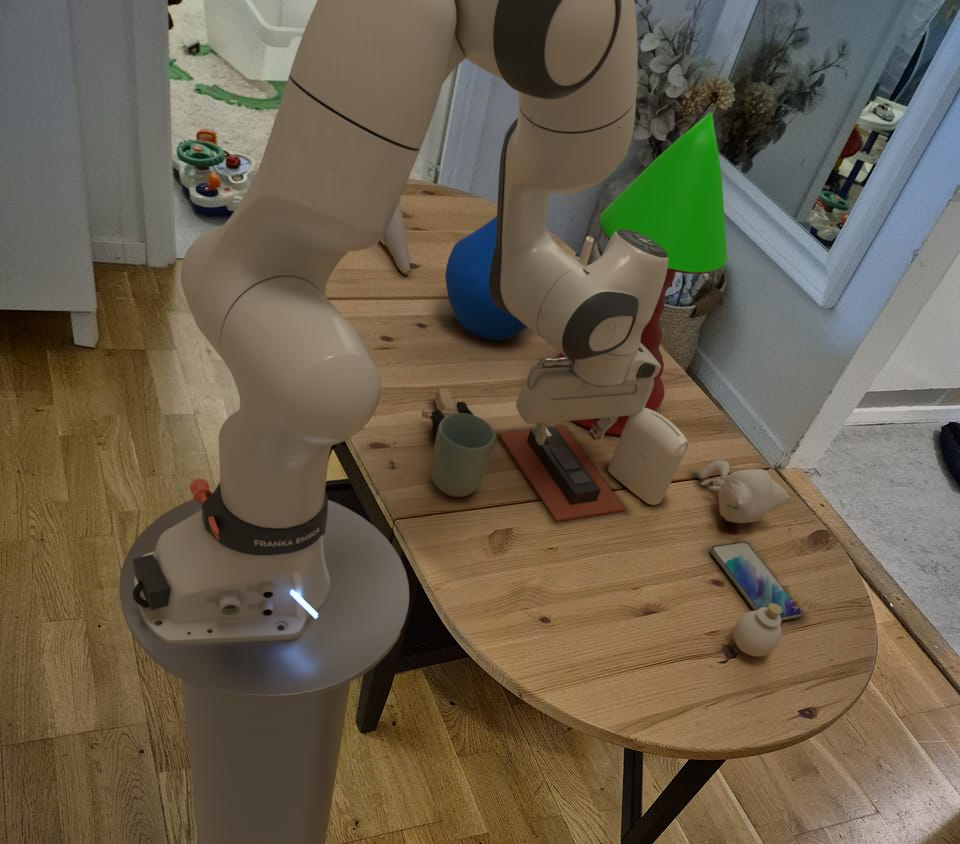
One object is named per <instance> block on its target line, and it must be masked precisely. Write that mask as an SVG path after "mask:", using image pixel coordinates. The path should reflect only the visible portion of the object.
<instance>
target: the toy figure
mask: <svg viewBox="0 0 960 844" xmlns="http://www.w3.org/2000/svg"><path fill="white" fill-rule="evenodd" d="M433 401H434V403H435V405H436V409H433V411H432V412H430V410H424V409H421V417H422V418H423V419H430V420H431V422H432V424H431V425H432V427H431V428H432V430H431V432H432V433H433V434H434V438H436V435H437V431H438V427H439V424H440V422H441V421H442V420H443V419H444V418H445V417H447V416H449V415H452V414H456V413H467V414H472V415H474V413H473V412H472V411H471V410H470V408H469V407H468V405H467V403H466V401H465V400H463V401H457V402H456V404H454V401H453V397H452V393H451V390H450V389H449V388H444V387H438V388H437V390H436V393H435V398H434V400H433Z"/></svg>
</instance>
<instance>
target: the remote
mask: <svg viewBox="0 0 960 844" xmlns="http://www.w3.org/2000/svg"><path fill="white" fill-rule="evenodd" d="M556 427H557V426H553V427H546V428H547V429H548V431H549V433H551V435H552V437H551V440H550V443H549V444H546V445H539V444H538V443H537V441H536V439H535V437H536V434H537V431H538V429H537V428H532V429H529V430H530V432H529V436H528V439H527V442H528V443H529V445H530V446H531V448H532V449H533V451H534V452H535V453H536V455H537V456H538V458H539V459H540V461H541V462H542V464H543V465H544V467H545V468H546V469H547V471H548V472H549V474H550V475H551V477H552V478H553V480H554V481H555V482H556V484H557V485H558V487H559V488H560V490H561V491H562V493H563V494H564V496H565V497H566V498H567V500H568V501H569V503H570V504H571V505H573V504H579V503H586V502H593V501H597V499H598V496H599V494H600V491H601V489H600V488H599V486H598V485H597V484H596V482H595V481H594V479H593V478H592V477H591V475H590V474H589V473H588V471H587V470H586V468H585V467H584V466H583V464H582V463H581V462H580V460H579V459H578V457H577V456H576V455H575V453H574V452H573V451H572V449H571V448H570V446H569V445H568V444H567V442H566V441H565V440H564V438H563V437H562V435H561V434H560V433H559V431H558V430H557V429H556Z"/></svg>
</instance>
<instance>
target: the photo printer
mask: <svg viewBox="0 0 960 844" xmlns="http://www.w3.org/2000/svg"><path fill="white" fill-rule="evenodd" d="M688 448H689V441H688V440H687V438H686V436H685V435H684V433H682V431H681V430H680V429H679V428H678V427H677V426H676V424H674V423H673V422H672V421H671V420H669V418H667V417H666V416H664V415H663V414H661V413H659V412H658V411H657V412H655V411H653V410H651V409H648V408H644V409H643V410H642V411H640V412H639V413H638V414H636V415H631V416H629V418H628V420H627V422H626V424H625V427H624V429H623V432H622V434H621V435H620V436H619V440H618V441H617V444H616V447H615V449H614V452H613V454H612V457H611V459H610V462H609V464H608V468H607V472H608V473H609V474H610V475H611V476H612V477H614V478H615V479H616V480H617V481H618V482H619V483H621V484H622V485H623V486H624V487H625V488H626V489H628V490H629V491H630V492H632V493H633V494H634V495H635V496H636V497H638V498H639V499H640V500H642V501H643V502H644V503H646V504H648V505H650V506H656V505H659V504H661V503H662V501H663V499H664V498H665V495H666V494H667V492H668V490H669V488H670V486H671V483H672V481H673V479H674V477H675V475H676V473H677V471H678V469H679V467H680V465H681V463H682V461H683V459H684V456H685V455H686V452H687V450H688Z"/></svg>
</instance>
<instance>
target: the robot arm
mask: <svg viewBox="0 0 960 844" xmlns="http://www.w3.org/2000/svg"><path fill="white" fill-rule="evenodd" d="M635 3H636V2H635V0H316V2H315V5H314V6H313V10H312V11H311V13H310V16H309V18H308V21H307V23H306V25H305V28H304V31H303V33H302V36H301V39H300V41H299V44H298V46H297V49H296V53H295V56H294V58H293V61H292V65H291V68H290V70H289V75H288V77H287V81H286V84H285V87H284V90H283V92H282V95H281V99H280V102H279V106H278V108H277V112H276V115H275V118H274V121H273V124H272V127H271V131H270V133H269V137H268V140H267V143H266V145H265V149H264V152H263V155H262V158H261V161H260V164H259V166H258V168H257V171H256V173H255V175H254V177H253V180H252V182H251V184H250V186H249V188H248V189H247V191H246V193H245V194H244V196H243V198H242V199H241V201H240V203H239V204H238V206H237V207H236V208H235V210H234V211H233V213H232V214H231V215H230V216H229V217H228V219H227V221H225V223H224V224H222V225H219V226H216V227H212V228H210V229H208V230H206V231H204V232H203V233H202V234H201V235H199V236H198V237H197V238H196V239H195V240H194V241H193V242H192V243H191V245H190V246H189V248H188V249H187V251H186V252H185V254H184V256H183V259H182V262H181V266H180V283H181V289H182V292H183V294H184V297H185V300H186V303H187V305H188V308H189V311H190V313H191V315H192V317H193V320H194V323H195V324H196V327H197V328H198V329H199V331H200V332H201V333H202V334H203V336H204V337H205V339H206V340H207V341H208V342H209V344H210V345H211V347H213V349H214V350H215V352H216V353H217V354H218V355H219V357H220V358H221V359H222V361H223V362H224V364H225V365H226V368H227V369H228V370H229V372H230V374H231V376H232V378H233V380H234V383H235V385H236V389H237V392H238V395H239V409H238V410H236V411H234V412H233V413H232V414H231V415H229V416H228V417H227V418H226V419H225V420H224V422H223V423H222V425H221V427H220V430H219V432H218V456H219V457H218V459H219V482H218V484H217V486H216V488H215V490H214V491H211V489H210V484H209V482H208V481H207V480H206V479H205V478H196V479H194V480H192V482H190V484H189V485H190V486H189V489H190V492H191V493H192V498H193V499H194V500H195V501H196V502H198V503H202V510H200V511H198V512H197V513H195V514H193V515H192V516H190V517H188V518H187V519H185V520H183V521H182V522H180V523H178V524H176V525H175V526H173V527H171V528H169V529H167V530H166V531H164V532H163V533H162V535H161V536H160V538H159V539H158V542H157V545H156V548H155V551H154V552H150V553H147V554H145V555H143V556H142V557H139V558H135V559H133V565H134V571H135V576H134V590H133V598H134V600H135V601H136V602H137V605H138V608H139V611H140V614H141V617H142V619H143V621H144V623H145V624H146V626H147V628H148V629H149V630H150V632H151V633H152V634H153V635H154V636H155V637H156V638H157V639H159V640H160V641H161V642H163V643H164V644H167V645H191V644H212V643H232V642H253V641H274V640H292V639H296V638H298V637H299V636H300V635H301V634H302V632H303V630H304V628H305V625H306V622H307V620H308V619H309V618H310V617H311V616H313V617H314V618H317V617H318V613H317V612H316V611H318V610H319V609H320V608H321V606H322V605H323V604H324V602H325V601H326V599H327V597H328V595H329V591H330V576H329V573H328V570H327V567H326V563H325V558H324V550H323V535H324V534H325V531H326V523H327V520H328V500H329V496H328V493H327V492H326V486H327V477H328V469H329V462H330V461H329V460H330V453H331V448H332V446H335V445H339V444H342V443H343V442H346V441H348V440H349V439H351V438H353V437H354V436H356V435H357V434H358V433H359V432H360V431H362V429H364V427H366V425H367V424H368V423H369V422H370V421H371V419H372V417H373V416H374V414H375V413H376V410H377V408H378V405H379V402H380V399H381V395H382V378H381V374H380V371H379V370H378V368H377V365H376V364H375V361H374V360H373V359H374V358H372V356H371V353H370V351H369V350H368V348H367V346H366V343H365V342H364V341H363V339H362V337H361V335H360V334H359V332H358V330H357V329H356V328H355V327H354V326H353V325H352V324H351V323H350V322H349V320H347V318H346V317H345V316H344V315H343V314H342V313H341V312H340V311H339V309H338V308H337V307H336V306H335V305H334V304H333V303H332V302H331V301H330V300H329V298H328V297H327V296H326V290H327V284H328V281H329V279H330V277H331V276H332V273H333V271H334V270H335V269H336V267H337V266H338V264H339V263H340V262H341V261H342V259H343V258H344V257H345V256H346V255H347V254H349V253H350V252H358V251H363V250H368V249H369V248H372V247H374V246H375V245H377V244H378V243H380V242H381V241H380V240H381V239H382V238H383V237H384V235H385V234H386V232H387V230H388V227H389V225H390V223H391V220H392V218H393V215H394V213H395V210H396V208H397V205H398V203H399V200H400V201H401V198H402V195H403V193H404V191H405V188H406V186H407V183H408V180H409V178H410V175H411V173H412V170H413V169H414V166H415V164H416V161H417V159H418V156H419V153H420V151H421V148H422V146H423V143H424V141H425V138H426V135H427V133H428V131H429V128H430V125H431V122H432V119H433V116H434V113H435V110H436V107H437V104H438V101H439V98H440V94H441V89H442V87H443V85H444V83H445V81H446V80H447V79H448V78H449V76H450V75H451V74H452V72H454V70H455V69H456V68H457V67H458V66H459V65H460V64H461V63H462V62H464V60H468V62H469V61H470V62H471V63H473V64H474V65H475V66H477V67H478V68H480V69H482V70H483V71H485V72H487V73H489V74H491V75H493V76H495V77H498V78H499V79H501V80H504V81H505V83H506V84H507V85H508V86H509V87H510V88H511V89H513V90H515V91H517V102H518V103H517V104H518V107H517V108H518V111H517V112H518V115H517V118H516V119H515V120H514V121H513V122H512V123H511V125H510V126H509V128H508V129H507V132H506V134H505V137H504V139H503V143H502V148H501V153H500V160H499V170H498V184H497V185H498V186H497V187H498V189H497V208H496V209H497V210H496V216H497V227H496V242H495V249H494V253H493V257H492V260H491V264H490V269H489V279H488V283H489V292H490V296H491V299H492V301H493V302H494V304H495V305H496V306H497V307H499V308H500V309H502V310H503V311H505V312H507V313H508V314H510V315H511V316H513V317H514V318H516V319H518V320H519V321H521V322H522V323H523V324H524V325H526V326H527V327H526V328H528V329H529V330H530V331H532V332H533V333H534V334H535V335H537V336H538V337H539V338H540V339H542V340H544V341H545V342H547V343H548V345H550V346H551V347H553V348H554V349H555V350H556V351H558V352H559V353H560V352H561V353H562V354H563V355H565V356H566V357H562V358H556V357H555V358H552V357H546V358H542V360H541V361H539V362H538V363H536V364H534V365H532V367H531V368H530V370H529V373H528V376H527V377H526V379H525V381H524V383H523V385H522V387H521V390H520V392H519V394H518V397H517V400H516V404H515V408H516V410H517V413H518V414H519V416H520V417H521V419H523V421H524V422H525V423H526V424H527V425H536V429H538V431H537V434H536V437H535V439H536V441H537V443H538V444H539V445H546V444H549V443H550V440H551V437H552V435H551V433H549V431H548V429H547V428H550V426H551V423H558V422H559V423H560V422H574V421H573V420H585V419H596V418H601V419H600V420H599V421H598V422H597V424H592V426H591V429H589V431H588V434H589V436H590V437H591V439H592V440H594V441H595V440H602V439H604V436H605V434H606V433H605V432H606V430H608V429H609V428H610V427H611V426H612V425H613V424H614V423H615V422H616V421H617V419H618V417H619V416H631V415H636V414H638V413H639V412H640V411H642V410H643V409H644V407H645V405H646V403H647V401H648V399H649V396H650V394H651V391H652V389H653V386H654V377H656V376H657V375H658V373H659V371H660V368H661V365H660V364H659V362H658V361H657V360H656V358H655V357H654V356H653V355H652V354H651V353H650V351H649V350H648V349H647V348H646V347H645V346H644V345H643V344H641V343H640V342H641V334H642V331H643V329H644V328H645V326H646V325H647V324H648V322H649V321H650V319H651V317H652V315H653V312H654V310H655V308H656V305H657V302H658V300H659V297H660V294H661V291H662V288H663V285H664V281H665V277H666V273H667V268H668V255H667V253H666V252H665V250H664V249H663V248H662V247H661V246H660V245H658V244H657V243H656V242H654V241H653V240H651V239H650V238H648V237H647V236H644V235H642V234H640V233H638V232H636V231H632V230H628V229H620V230H616V231H615V232H614V234H613V235H612V237H611V239H610V240H608V243H607V244H606V247H605V249H604V251H603V253H602V255H601V256H600V257H599V258H597V259H596V260H595V261H593V262H592V263H590V264H587V265H586V266H584V265H583V264H581V263H580V262H578V261H579V260H577V259H576V258H575V257H573V256H572V255H570V254H569V253H568V252H566V251H565V250H564V249H563V248H562V247H560V245H558V244H557V242H556V241H555V240H554V239H553V238H552V236H551V234H550V233H549V231H548V229H547V219H548V212H549V211H548V210H549V202H550V194H554V195H570V194H575V193H579V192H582V191H583V192H584V191H586V190H588V189H591V188H593V187H595V186H597V185H599V184H601V183H602V182H604V181H605V180H606V179H607V178H609V177H610V176H611V175H612V174H613V173H614V172H615V171H616V170H617V168H619V166H620V165H621V163H622V162H623V160H624V159H625V158H626V156H627V154H628V151H629V148H630V146H631V142H632V138H633V135H634V129H635V121H636V109H637V107H636V106H637V94H638V93H637V92H638V74H639V73H638V72H639V71H638V70H639V69H638V68H639V64H638V63H639V48H638V47H639V46H638V25H637V14H636V13H637V11H636V4H635ZM157 624H162V625H160V626H157ZM278 629H283V630H282V631H280V630H278Z"/></svg>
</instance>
